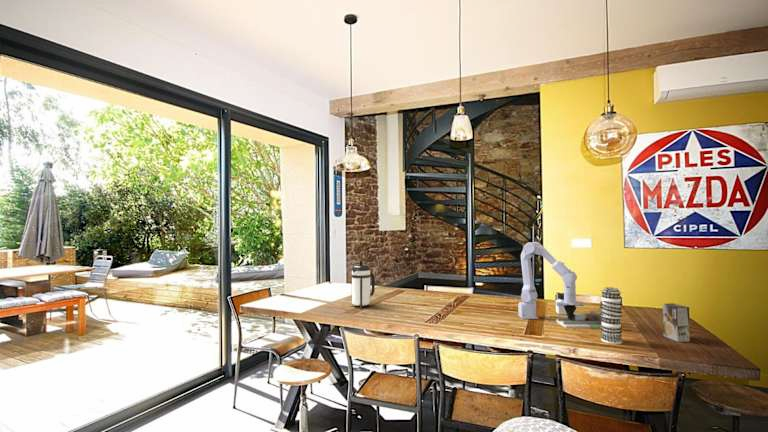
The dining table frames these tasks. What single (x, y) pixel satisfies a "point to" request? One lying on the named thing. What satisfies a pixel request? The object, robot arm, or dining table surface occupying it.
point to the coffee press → (362, 284)
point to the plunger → (578, 317)
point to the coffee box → (676, 322)
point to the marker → (589, 317)
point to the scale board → (581, 322)
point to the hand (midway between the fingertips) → (569, 319)
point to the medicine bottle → (560, 308)
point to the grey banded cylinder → (611, 316)
